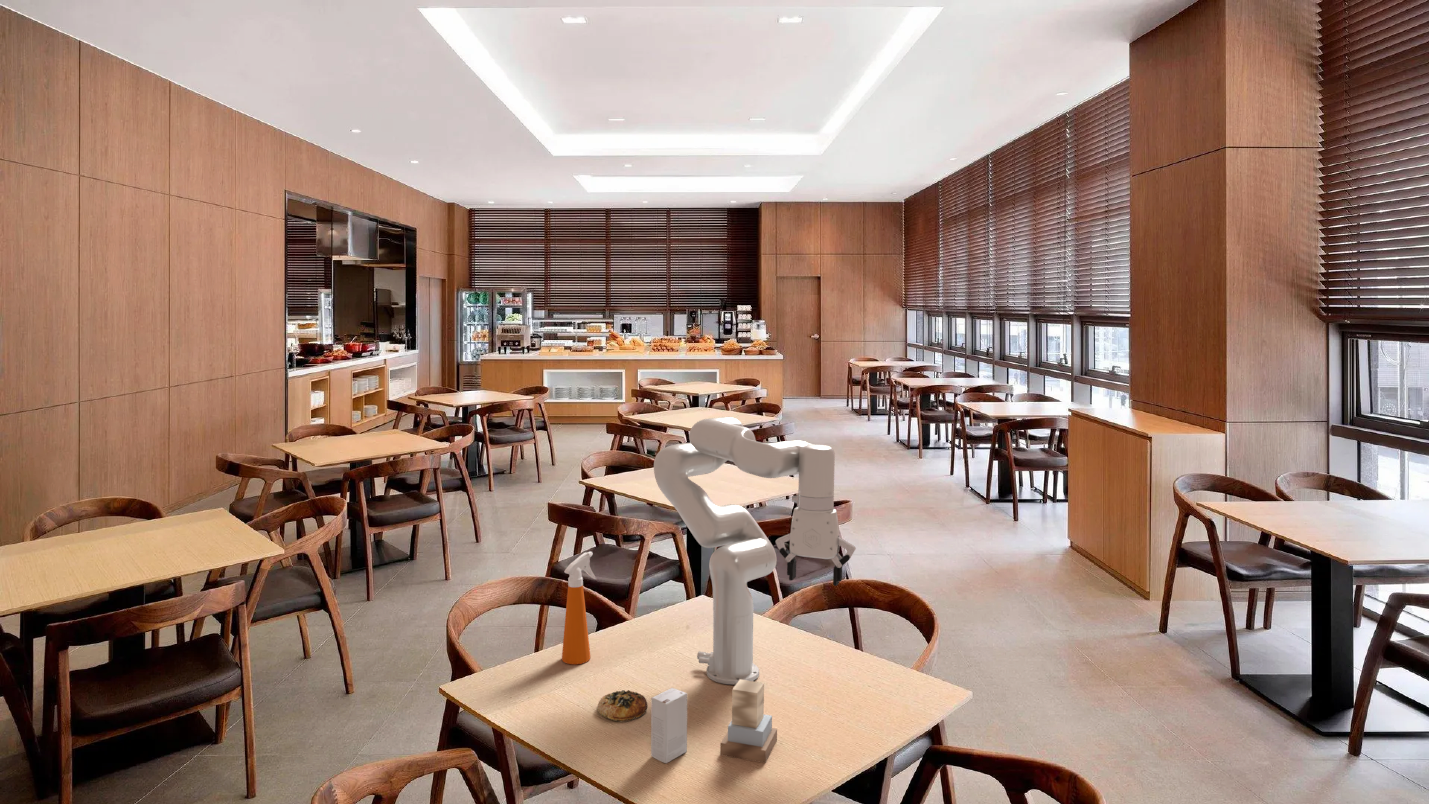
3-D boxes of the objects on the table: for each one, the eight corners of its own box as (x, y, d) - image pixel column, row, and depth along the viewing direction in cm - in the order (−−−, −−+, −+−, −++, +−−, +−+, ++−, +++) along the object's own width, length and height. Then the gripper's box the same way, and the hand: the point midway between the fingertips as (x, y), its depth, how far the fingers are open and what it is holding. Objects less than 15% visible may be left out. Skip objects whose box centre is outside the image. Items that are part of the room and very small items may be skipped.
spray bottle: (606, 653, 207) (606, 551, 205) (576, 667, 198) (575, 561, 196) (586, 647, 211) (585, 547, 209) (555, 660, 203) (554, 556, 200)
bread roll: (656, 703, 180) (654, 682, 179) (635, 732, 169) (632, 710, 168) (611, 697, 183) (608, 676, 182) (587, 725, 173) (585, 704, 172)
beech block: (731, 724, 158) (732, 689, 158) (739, 713, 163) (740, 679, 163) (756, 728, 157) (757, 693, 156) (763, 717, 162) (764, 683, 161)
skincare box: (671, 745, 161) (671, 686, 160) (688, 752, 158) (688, 692, 157) (649, 757, 156) (649, 696, 155) (666, 765, 154) (666, 703, 153)
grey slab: (727, 741, 158) (727, 726, 158) (738, 724, 165) (738, 710, 164) (762, 747, 156) (762, 732, 156) (771, 730, 162) (772, 715, 162)
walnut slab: (720, 757, 158) (720, 742, 157) (734, 736, 166) (734, 721, 166) (765, 765, 155) (765, 750, 155) (776, 743, 163) (777, 728, 163)
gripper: (771, 503, 174) (770, 581, 175) (852, 510, 167) (850, 591, 169) (781, 496, 181) (780, 572, 182) (859, 503, 174) (857, 581, 176)
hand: (814, 581), depth 175 cm, fingers open, 9 cm apart
